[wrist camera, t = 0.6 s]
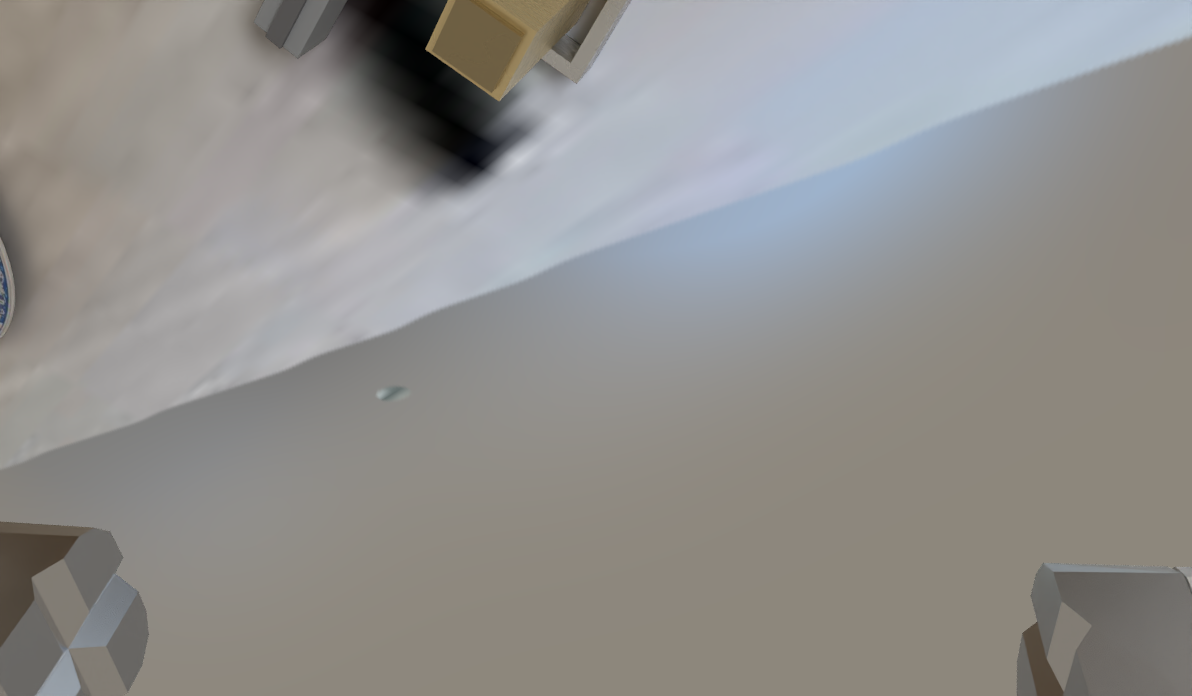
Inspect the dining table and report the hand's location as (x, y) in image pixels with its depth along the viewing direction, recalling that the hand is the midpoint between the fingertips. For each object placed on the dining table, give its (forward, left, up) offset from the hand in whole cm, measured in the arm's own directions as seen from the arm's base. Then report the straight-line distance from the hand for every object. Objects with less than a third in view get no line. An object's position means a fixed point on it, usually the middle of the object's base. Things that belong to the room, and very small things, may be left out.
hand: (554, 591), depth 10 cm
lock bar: (+11, -18, -46) cm, 51 cm away
